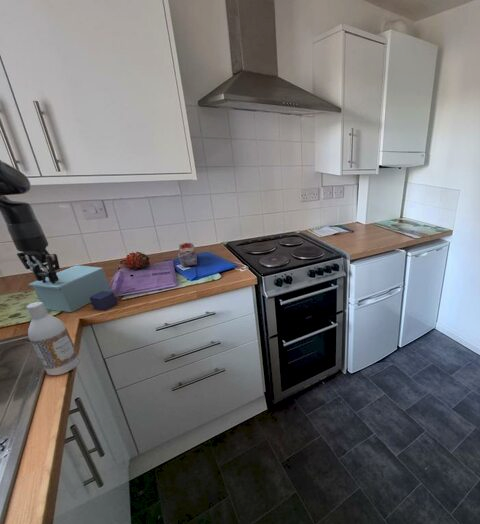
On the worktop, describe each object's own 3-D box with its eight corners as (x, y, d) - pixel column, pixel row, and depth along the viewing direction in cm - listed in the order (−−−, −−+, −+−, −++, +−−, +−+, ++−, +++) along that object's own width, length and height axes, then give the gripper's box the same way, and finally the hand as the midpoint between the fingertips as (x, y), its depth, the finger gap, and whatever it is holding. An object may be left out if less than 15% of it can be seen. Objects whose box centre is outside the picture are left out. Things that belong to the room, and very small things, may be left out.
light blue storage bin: (71, 312, 107) (60, 288, 103) (43, 308, 109) (32, 284, 105) (111, 291, 121) (103, 269, 117) (85, 288, 123) (77, 267, 119)
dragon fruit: (154, 269, 144) (126, 276, 141) (153, 255, 148) (126, 261, 145) (145, 261, 136) (115, 267, 134) (144, 246, 140) (116, 252, 138)
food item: (199, 265, 145) (195, 246, 141) (181, 269, 141) (176, 249, 137) (196, 256, 156) (192, 238, 152) (179, 259, 152) (174, 241, 148)
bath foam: (60, 378, 78) (28, 313, 70) (40, 373, 80) (6, 310, 72) (87, 360, 84) (60, 299, 77) (68, 356, 86) (39, 295, 78)
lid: (58, 289, 102) (52, 276, 100) (29, 285, 105) (23, 272, 103) (103, 269, 117) (99, 257, 115) (77, 266, 119) (72, 255, 117)
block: (105, 310, 108) (100, 298, 106) (94, 309, 109) (89, 297, 107) (117, 303, 112) (113, 292, 110) (106, 302, 113) (102, 290, 111)
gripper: (-4, 236, 96) (19, 283, 102) (31, 239, 93) (53, 287, 100) (24, 229, 102) (44, 274, 109) (57, 232, 100) (76, 278, 107)
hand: (48, 280), depth 105 cm, fingers closed on lid, 5 cm apart
